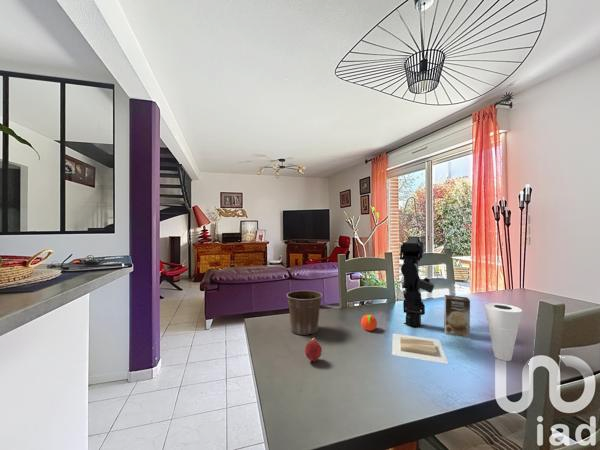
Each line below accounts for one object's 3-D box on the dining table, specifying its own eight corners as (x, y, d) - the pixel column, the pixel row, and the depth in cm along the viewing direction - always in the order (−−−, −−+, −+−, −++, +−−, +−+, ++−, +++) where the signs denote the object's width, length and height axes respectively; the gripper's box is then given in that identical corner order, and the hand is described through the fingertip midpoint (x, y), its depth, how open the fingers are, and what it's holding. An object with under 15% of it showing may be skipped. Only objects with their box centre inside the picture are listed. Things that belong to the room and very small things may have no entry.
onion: (316, 367, 87) (316, 343, 87) (301, 362, 90) (301, 339, 90) (324, 359, 92) (324, 337, 92) (310, 355, 95) (310, 333, 95)
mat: (392, 334, 114) (392, 333, 114) (439, 340, 107) (439, 339, 107) (391, 356, 95) (391, 354, 95) (448, 365, 88) (448, 363, 88)
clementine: (377, 335, 113) (377, 318, 113) (361, 333, 114) (361, 317, 114) (376, 328, 121) (376, 312, 121) (360, 326, 122) (360, 311, 122)
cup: (477, 350, 99) (477, 302, 99) (506, 350, 99) (506, 302, 99) (498, 365, 89) (498, 312, 89) (530, 365, 88) (530, 312, 88)
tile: (400, 336, 106) (400, 346, 98) (433, 341, 102) (436, 351, 94) (400, 340, 106) (400, 350, 98) (433, 345, 102) (436, 356, 94)
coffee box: (445, 335, 113) (445, 298, 113) (443, 330, 118) (443, 294, 119) (470, 339, 109) (470, 300, 109) (467, 333, 115) (467, 296, 115)
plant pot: (291, 322, 128) (291, 289, 128) (324, 324, 125) (324, 290, 125) (282, 335, 112) (282, 298, 112) (319, 339, 109) (319, 300, 109)
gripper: (436, 278, 97) (436, 320, 97) (429, 269, 114) (429, 305, 115) (403, 276, 101) (403, 317, 101) (402, 268, 118) (402, 302, 118)
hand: (410, 310), depth 109 cm, fingers closed
